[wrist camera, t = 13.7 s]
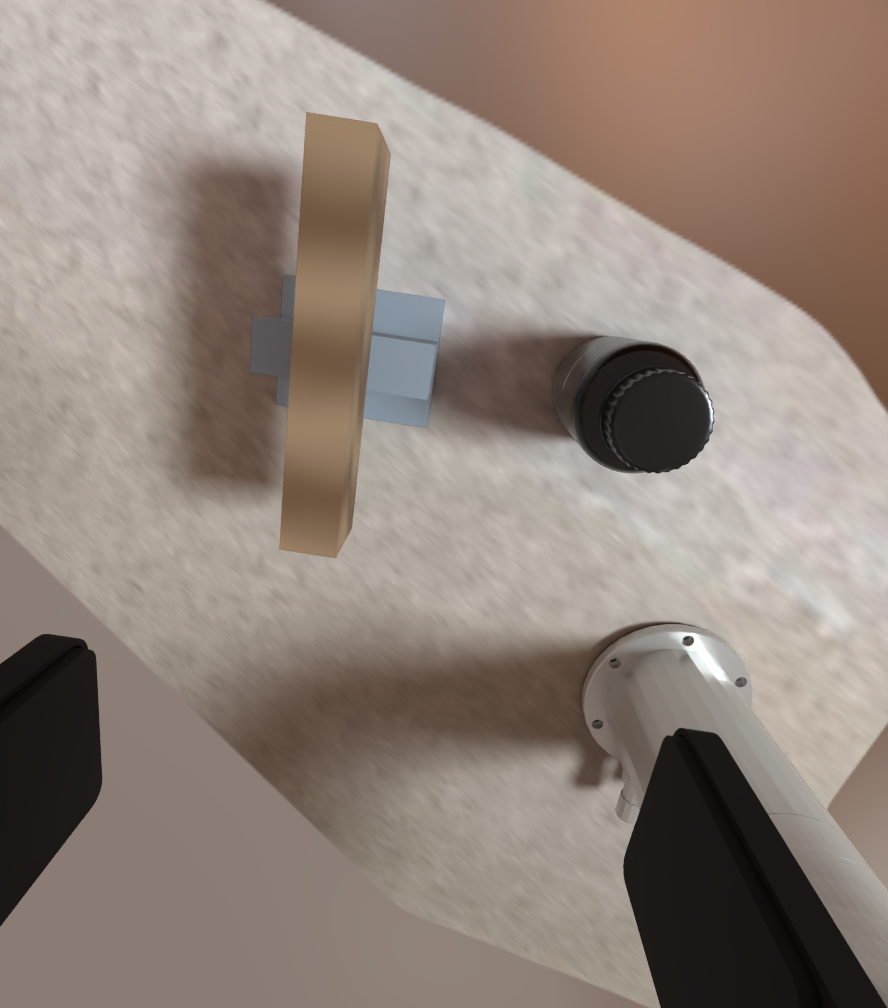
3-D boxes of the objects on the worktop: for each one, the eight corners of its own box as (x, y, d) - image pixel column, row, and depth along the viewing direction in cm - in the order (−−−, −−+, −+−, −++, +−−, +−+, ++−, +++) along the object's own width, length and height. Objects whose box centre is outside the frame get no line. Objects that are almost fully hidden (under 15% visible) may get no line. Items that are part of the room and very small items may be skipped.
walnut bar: (351, 528, 34) (335, 558, 30) (302, 521, 34) (279, 549, 30) (390, 153, 28) (377, 123, 24) (330, 144, 28) (306, 112, 24)
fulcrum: (427, 425, 38) (421, 443, 32) (280, 402, 38) (248, 416, 32) (445, 300, 36) (441, 296, 30) (287, 275, 35) (254, 267, 30)
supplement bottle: (552, 336, 36) (593, 343, 25) (660, 335, 36) (752, 342, 24) (547, 442, 38) (582, 494, 27) (649, 442, 38) (729, 494, 26)
